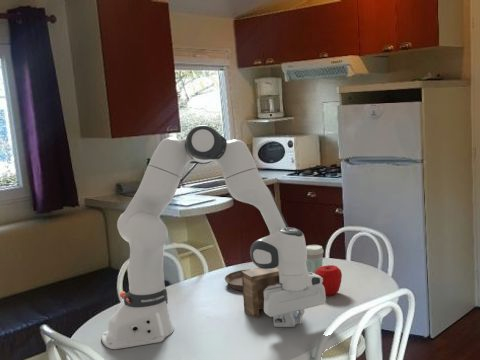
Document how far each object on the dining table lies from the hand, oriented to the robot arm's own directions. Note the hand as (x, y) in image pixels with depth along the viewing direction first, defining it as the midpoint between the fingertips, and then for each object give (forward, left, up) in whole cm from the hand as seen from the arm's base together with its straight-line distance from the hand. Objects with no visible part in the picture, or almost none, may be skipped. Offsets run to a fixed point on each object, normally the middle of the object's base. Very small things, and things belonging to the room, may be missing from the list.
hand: (296, 323), depth 179 cm
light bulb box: (0, +7, -2) cm, 7 cm away
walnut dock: (0, +19, -2) cm, 19 cm away
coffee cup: (+31, +40, -2) cm, 51 cm away
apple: (+25, +20, -2) cm, 32 cm away
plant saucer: (+7, +47, -2) cm, 48 cm away
